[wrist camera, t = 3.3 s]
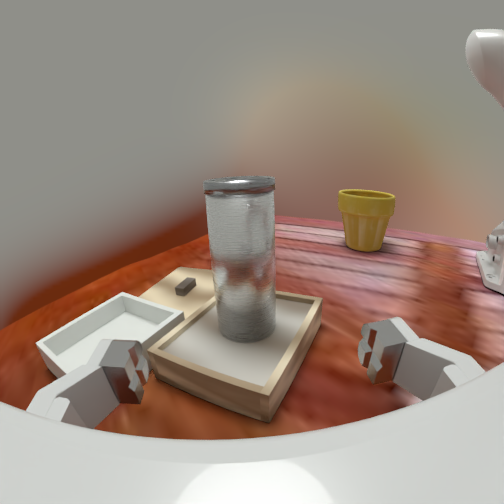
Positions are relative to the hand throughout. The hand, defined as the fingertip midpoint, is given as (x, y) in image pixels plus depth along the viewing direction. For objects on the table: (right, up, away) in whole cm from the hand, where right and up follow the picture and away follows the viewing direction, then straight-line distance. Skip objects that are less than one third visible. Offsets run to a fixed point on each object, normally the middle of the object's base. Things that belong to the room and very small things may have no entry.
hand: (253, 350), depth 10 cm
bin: (-13, -6, +13) cm, 20 cm away
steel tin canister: (0, -3, +14) cm, 14 cm away
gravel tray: (-1, -5, +14) cm, 15 cm away
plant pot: (+20, +4, +40) cm, 45 cm away
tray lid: (-8, -2, +25) cm, 26 cm away
